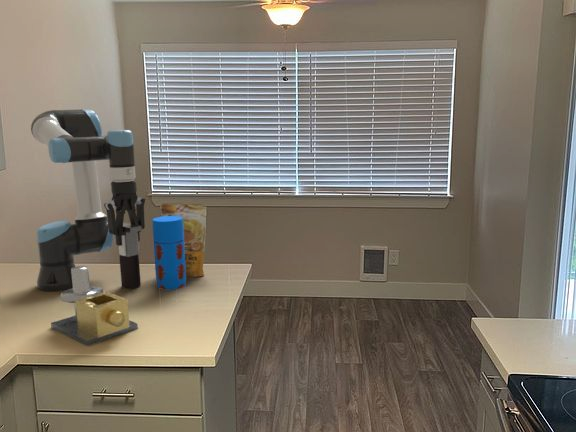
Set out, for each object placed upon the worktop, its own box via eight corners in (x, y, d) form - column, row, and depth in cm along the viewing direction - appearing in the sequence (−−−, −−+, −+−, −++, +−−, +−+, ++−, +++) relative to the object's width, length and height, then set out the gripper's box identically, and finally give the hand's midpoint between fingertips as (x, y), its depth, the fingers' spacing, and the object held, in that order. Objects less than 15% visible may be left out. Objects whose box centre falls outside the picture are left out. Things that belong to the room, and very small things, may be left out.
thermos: (172, 291, 196) (167, 222, 191) (150, 287, 201) (145, 220, 197) (192, 283, 205) (189, 217, 200) (171, 279, 210) (167, 215, 206)
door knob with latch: (49, 326, 165) (43, 270, 162) (98, 311, 177) (93, 259, 173) (94, 349, 148) (88, 287, 145) (144, 331, 160) (140, 273, 157)
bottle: (133, 289, 198) (129, 235, 195) (117, 288, 201) (113, 234, 197) (144, 284, 205) (140, 231, 201) (128, 282, 207) (124, 230, 203)
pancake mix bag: (167, 270, 222) (163, 202, 217) (211, 273, 217) (208, 203, 212) (159, 275, 215) (154, 205, 210) (204, 278, 211) (201, 206, 206)
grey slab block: (114, 253, 177) (112, 224, 175) (125, 250, 180) (123, 222, 178) (132, 258, 170) (130, 228, 168) (143, 255, 173) (141, 226, 171)
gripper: (105, 184, 162) (111, 261, 166) (153, 178, 174) (158, 249, 179) (91, 182, 166) (98, 257, 171) (139, 176, 179) (144, 246, 183)
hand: (129, 253), depth 175 cm, fingers closed on grey slab block, 4 cm apart
